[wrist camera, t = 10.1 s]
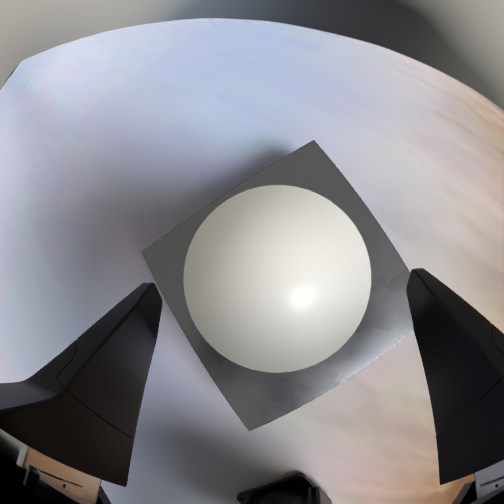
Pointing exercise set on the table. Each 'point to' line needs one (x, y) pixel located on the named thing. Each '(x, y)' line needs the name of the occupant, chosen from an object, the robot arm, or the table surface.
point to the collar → (358, 345)
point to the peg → (277, 278)
